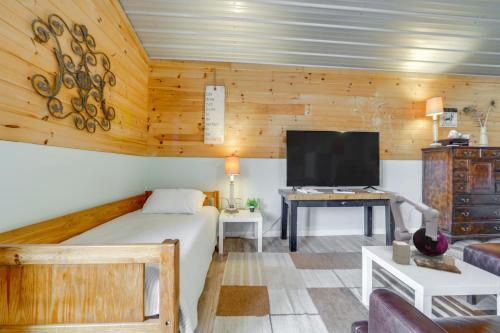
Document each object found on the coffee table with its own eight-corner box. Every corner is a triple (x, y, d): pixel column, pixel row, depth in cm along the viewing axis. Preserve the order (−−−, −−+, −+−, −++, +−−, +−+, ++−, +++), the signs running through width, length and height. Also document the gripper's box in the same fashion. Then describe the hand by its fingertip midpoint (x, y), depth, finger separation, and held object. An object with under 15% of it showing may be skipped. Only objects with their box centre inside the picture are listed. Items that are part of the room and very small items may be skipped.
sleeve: (444, 266, 136) (445, 256, 136) (442, 263, 141) (442, 254, 141) (455, 268, 134) (456, 258, 134) (452, 265, 139) (452, 255, 139)
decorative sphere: (408, 249, 172) (408, 223, 172) (439, 252, 165) (439, 226, 166) (418, 258, 153) (419, 229, 153) (454, 263, 146) (455, 233, 147)
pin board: (417, 266, 140) (417, 259, 140) (413, 260, 150) (413, 253, 150) (461, 274, 131) (461, 266, 131) (453, 267, 140) (453, 259, 140)
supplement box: (403, 260, 149) (403, 241, 149) (410, 264, 142) (410, 245, 142) (391, 259, 150) (392, 240, 150) (398, 264, 142) (398, 244, 143)
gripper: (443, 231, 135) (442, 253, 135) (435, 226, 148) (435, 246, 148) (428, 229, 138) (428, 251, 138) (422, 224, 151) (422, 244, 151)
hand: (431, 248), depth 143 cm, fingers open, 7 cm apart
